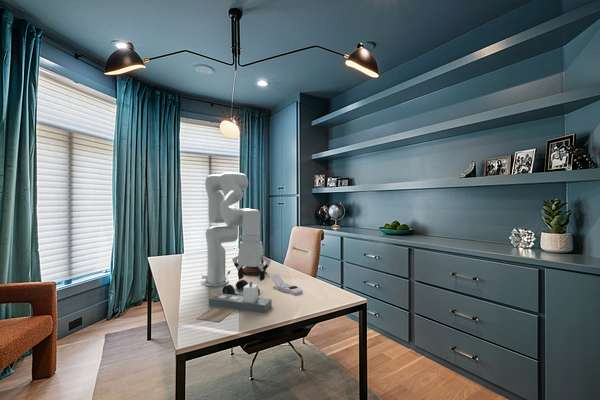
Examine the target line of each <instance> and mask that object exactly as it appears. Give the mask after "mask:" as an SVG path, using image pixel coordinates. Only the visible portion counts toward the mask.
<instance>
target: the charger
mask: <svg viewBox="0 0 600 400" xmlns="http://www.w3.org/2000/svg"><path fill="white" fill-rule="evenodd" d="M258 288H259V284H255V283H253V281H249V282H248V284H247V285H246V286H244V287H243V290H242V291H243V294H242V295H243V302H246V303H255V302H257V301H258V298H259V295H258Z"/></svg>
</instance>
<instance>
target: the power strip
mask: <svg viewBox="0 0 600 400" xmlns="http://www.w3.org/2000/svg"><path fill="white" fill-rule="evenodd" d="M240 295H241V294H239V295H231V294H223V292H222V293H220V292H218V293H216V294H214V295H212V296H211V297H209V298H208V306H209V307H218V308H224V309H225V308H226V309H230V310H231V309H232V310H233V309H234V310H238V311H239V310H240V311H247V312H255V313H263V314H265V313H267V311H269V309H271V307H272V298H266V297H264V298H263V297H258V301H257V302H255V303H246V302H243V296H240Z"/></svg>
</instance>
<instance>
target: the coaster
mask: <svg viewBox="0 0 600 400" xmlns="http://www.w3.org/2000/svg"><path fill="white" fill-rule="evenodd" d="M231 313H234V312H233V310H231V309H230V310H228V309H222V308H221V309H220V308H214V307H213V308H212V307H211V308H209V309H208V310H207V311H205V312H203V313H202V314H201V315H199V316H197V317H196V318H195V319H196V320H200V321H208V322H214V323H221V321H223V320H224V319H225V318H227V317H228V316H229V315H231Z"/></svg>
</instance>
